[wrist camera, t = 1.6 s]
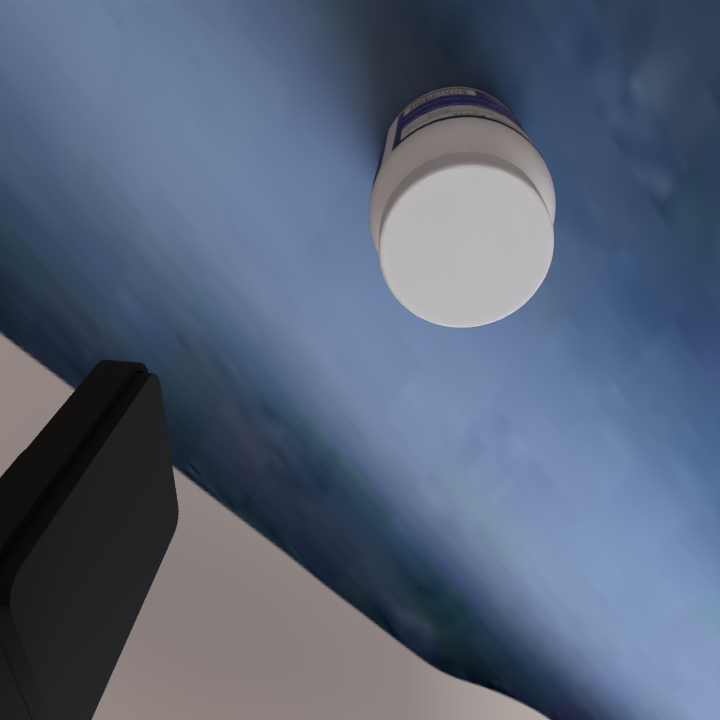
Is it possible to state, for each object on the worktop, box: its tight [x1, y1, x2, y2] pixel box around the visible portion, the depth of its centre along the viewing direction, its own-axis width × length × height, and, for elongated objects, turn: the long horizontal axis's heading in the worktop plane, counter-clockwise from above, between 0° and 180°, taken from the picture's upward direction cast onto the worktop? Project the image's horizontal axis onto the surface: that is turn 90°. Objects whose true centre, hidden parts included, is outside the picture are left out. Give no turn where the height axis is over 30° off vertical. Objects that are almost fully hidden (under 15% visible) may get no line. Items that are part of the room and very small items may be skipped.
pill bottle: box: [369, 87, 555, 327], centre depth 21 cm, size 6×6×10 cm
